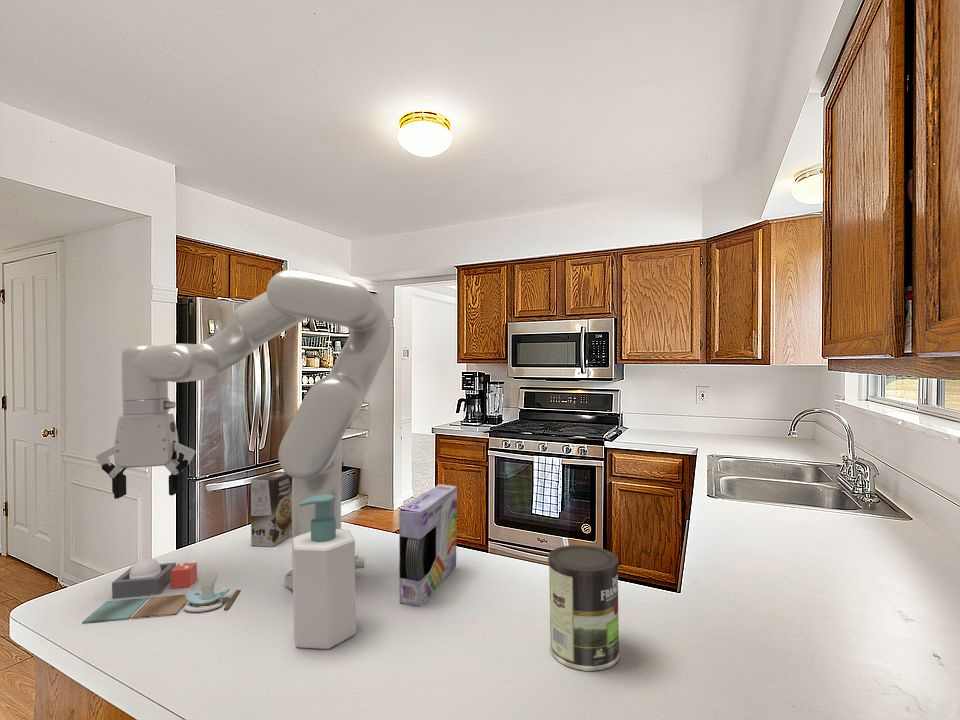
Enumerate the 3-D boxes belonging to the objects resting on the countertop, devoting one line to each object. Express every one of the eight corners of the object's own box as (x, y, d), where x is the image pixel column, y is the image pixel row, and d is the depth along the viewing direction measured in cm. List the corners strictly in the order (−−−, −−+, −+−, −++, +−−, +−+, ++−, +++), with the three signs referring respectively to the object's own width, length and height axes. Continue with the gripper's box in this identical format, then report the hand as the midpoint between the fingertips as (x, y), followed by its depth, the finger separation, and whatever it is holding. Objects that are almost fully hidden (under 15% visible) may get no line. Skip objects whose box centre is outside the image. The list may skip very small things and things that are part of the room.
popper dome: (165, 579, 103) (165, 553, 103) (154, 590, 98) (153, 563, 98) (137, 581, 102) (137, 555, 102) (124, 593, 97) (123, 565, 97)
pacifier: (219, 613, 90) (233, 597, 96) (218, 578, 90) (232, 564, 96) (176, 616, 89) (192, 599, 95) (175, 580, 89) (191, 566, 95)
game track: (240, 591, 98) (240, 589, 98) (228, 609, 91) (228, 608, 91) (106, 602, 94) (106, 601, 94) (82, 623, 86) (82, 621, 86)
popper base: (201, 575, 106) (200, 556, 106) (185, 592, 98) (185, 572, 98) (133, 580, 104) (133, 561, 104) (112, 598, 96) (111, 578, 96)
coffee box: (274, 547, 121) (273, 479, 121) (250, 546, 122) (249, 478, 122) (295, 534, 130) (294, 471, 130) (272, 533, 131) (272, 470, 131)
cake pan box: (420, 611, 89) (418, 510, 89) (394, 607, 91) (393, 507, 91) (459, 568, 107) (458, 484, 107) (437, 565, 109) (436, 483, 109)
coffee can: (628, 644, 78) (627, 551, 78) (607, 680, 69) (605, 576, 69) (565, 626, 83) (564, 540, 83) (538, 657, 75) (536, 561, 75)
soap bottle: (292, 624, 85) (291, 492, 85) (348, 613, 89) (346, 486, 89) (296, 657, 76) (294, 508, 76) (359, 642, 79) (357, 501, 79)
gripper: (200, 405, 105) (201, 488, 105) (107, 408, 102) (109, 493, 102) (185, 408, 98) (187, 497, 98) (85, 411, 95) (87, 503, 95)
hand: (147, 495), depth 100 cm, fingers open, 9 cm apart
